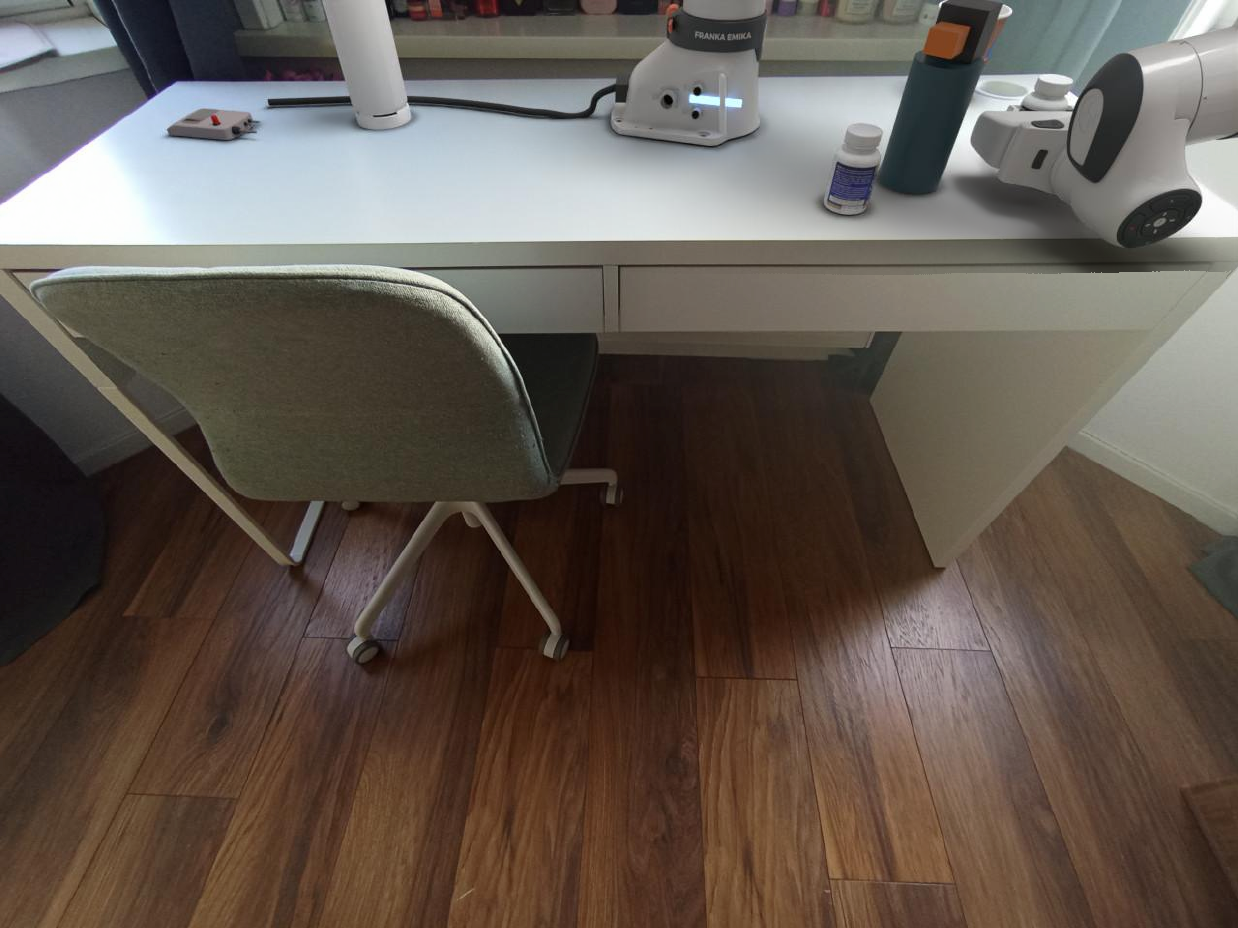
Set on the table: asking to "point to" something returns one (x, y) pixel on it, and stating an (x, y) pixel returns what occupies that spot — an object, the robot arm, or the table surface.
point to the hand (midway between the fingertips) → (1037, 111)
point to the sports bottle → (937, 102)
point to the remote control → (213, 124)
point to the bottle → (369, 61)
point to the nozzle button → (946, 40)
